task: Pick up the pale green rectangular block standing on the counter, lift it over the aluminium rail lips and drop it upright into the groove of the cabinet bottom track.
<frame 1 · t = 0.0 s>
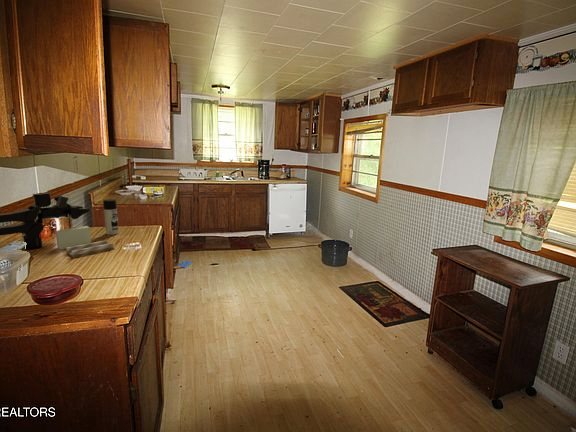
hand: (86, 208, 172), 17 cm above the countertop, tool horizontal, fingers open, 9 cm apart
pale green rectangular block: (74, 245, 162), on the countertop
bottom track: (91, 251, 155), on the countertop
spray can: (112, 233, 186), on the countertop
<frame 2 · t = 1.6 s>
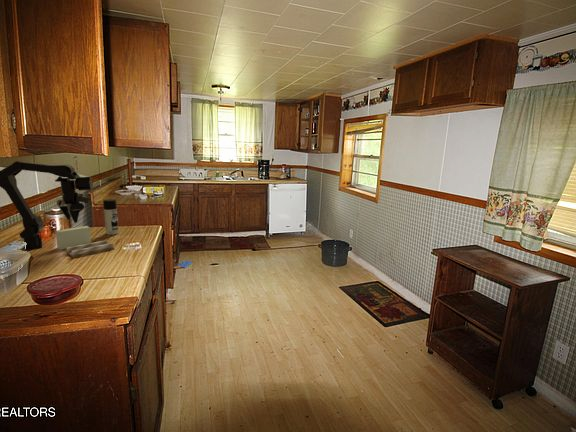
hand: (72, 221, 159), 13 cm above the countertop, tool pointing down, fingers open, 9 cm apart
nothing on the countertop moved.
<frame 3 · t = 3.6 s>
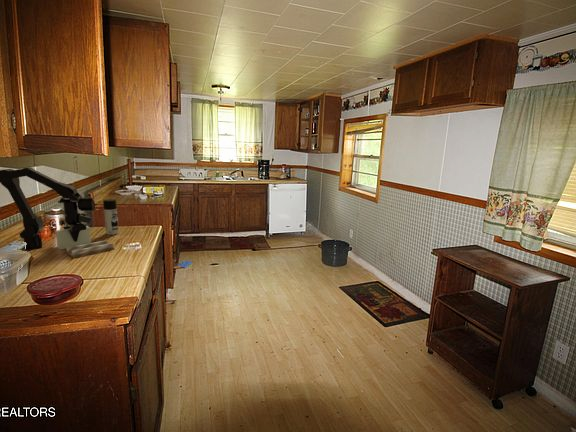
hand: (74, 240, 161), 3 cm above the countertop, tool pointing down, fingers closed on pale green rectangular block, 3 cm apart
pale green rectangular block: (74, 245, 162), on the countertop, touching gripper
everything else where it was.
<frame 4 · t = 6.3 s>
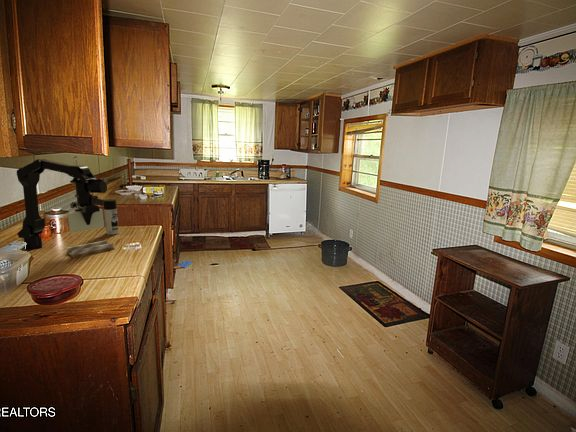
hand: (86, 224, 153), 13 cm above the countertop, tool pointing down, fingers closed on pale green rectangular block, 3 cm apart
pale green rectangular block: (87, 229, 154), point 11 cm above the countertop, touching gripper
everything else where it was.
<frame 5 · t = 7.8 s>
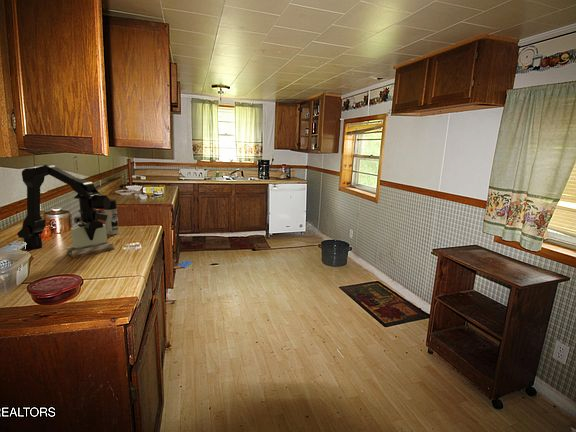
hand: (89, 239, 153), 6 cm above the countertop, tool pointing down, fingers closed on pale green rectangular block, 3 cm apart
pale green rectangular block: (90, 244, 154), point 4 cm above the countertop, touching gripper
everything else where it was.
when the fingers open (5 cm above the countertop, at t = 9.0 s): pale green rectangular block drops 1 cm, resting on bottom track.
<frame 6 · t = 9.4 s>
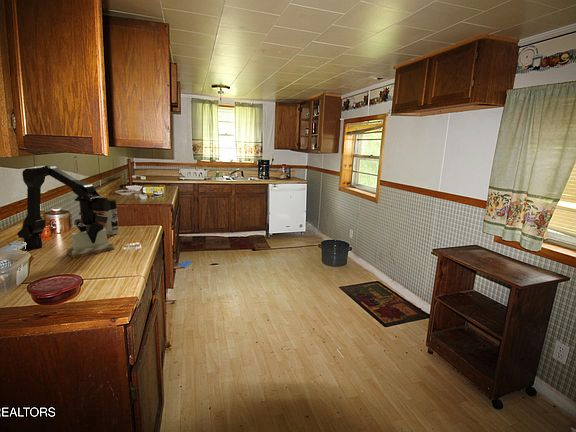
hand: (90, 241, 154), 5 cm above the countertop, tool pointing down, fingers open, 7 cm apart
pale green rectangular block: (91, 249, 155), point 1 cm above the countertop, touching bottom track
everything else where it was.
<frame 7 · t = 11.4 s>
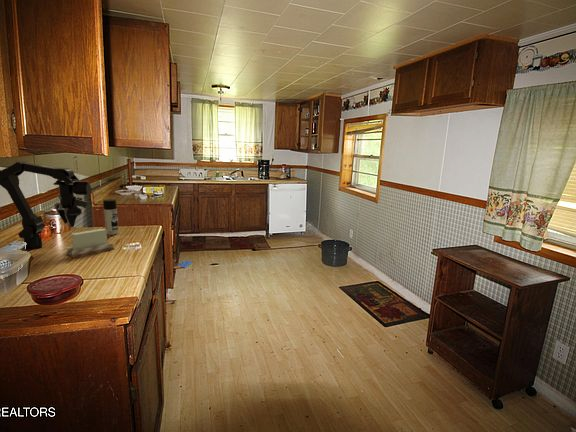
hand: (69, 225, 157), 12 cm above the countertop, tool pointing down, fingers open, 9 cm apart
nothing on the countertop moved.
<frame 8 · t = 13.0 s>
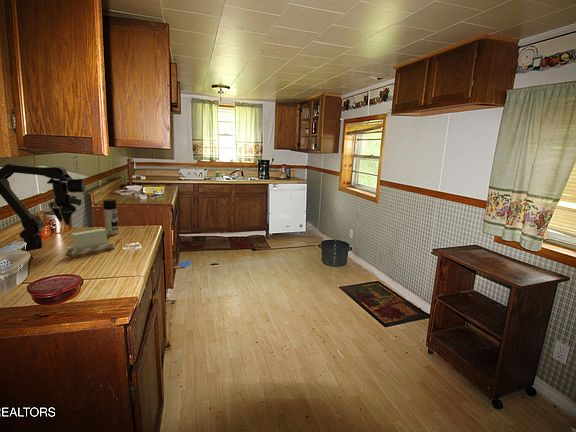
hand: (64, 223, 158), 12 cm above the countertop, tool pointing down, fingers open, 9 cm apart
nothing on the countertop moved.
at the end: pale green rectangular block 0.1 cm off-centre on the bottom track, point 1.0 cm above the bottom track's base; pale green rectangular block tilted 0°; the gripper is holding nothing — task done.
